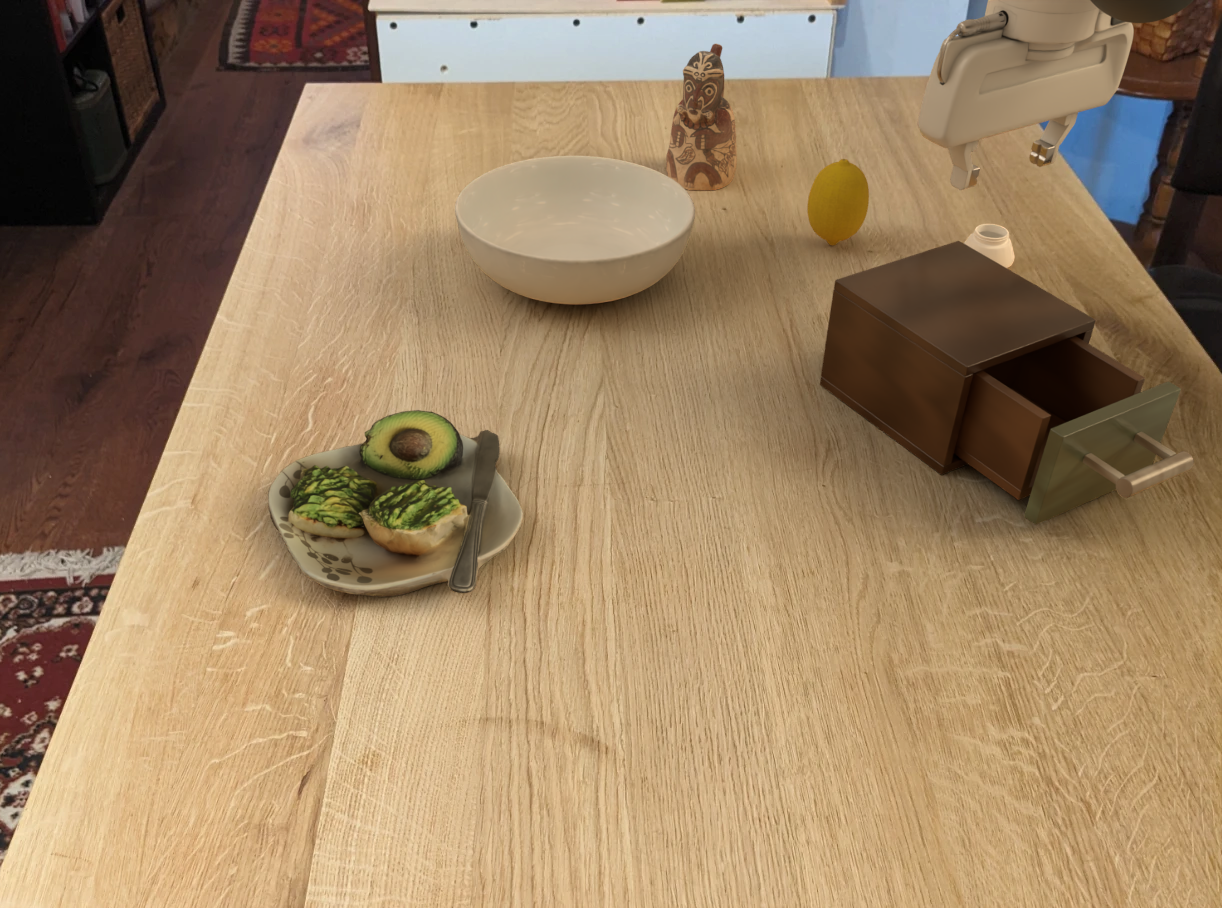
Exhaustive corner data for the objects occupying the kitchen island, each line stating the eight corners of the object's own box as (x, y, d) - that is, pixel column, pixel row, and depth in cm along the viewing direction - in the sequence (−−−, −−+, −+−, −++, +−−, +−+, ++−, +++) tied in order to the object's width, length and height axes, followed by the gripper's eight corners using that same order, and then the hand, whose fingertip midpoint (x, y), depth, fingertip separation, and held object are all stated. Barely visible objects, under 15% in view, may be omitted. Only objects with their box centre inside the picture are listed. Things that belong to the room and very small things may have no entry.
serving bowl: (652, 353, 107) (655, 276, 102) (423, 312, 111) (415, 236, 106) (717, 244, 120) (722, 171, 115) (510, 212, 125) (507, 140, 120)
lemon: (845, 227, 123) (858, 143, 117) (871, 253, 119) (886, 168, 114) (793, 236, 122) (803, 151, 116) (817, 262, 118) (829, 176, 112)
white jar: (1023, 262, 118) (978, 244, 121) (1031, 232, 116) (985, 213, 119) (991, 280, 116) (946, 260, 118) (998, 249, 114) (952, 230, 116)
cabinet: (1063, 426, 100) (1096, 319, 93) (941, 475, 95) (967, 366, 88) (936, 343, 108) (958, 240, 102) (819, 384, 104) (834, 279, 97)
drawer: (1197, 507, 91) (1235, 419, 86) (1083, 560, 87) (1115, 471, 82) (1017, 390, 101) (1040, 305, 96) (907, 432, 97) (925, 345, 92)
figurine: (652, 179, 130) (656, 53, 122) (689, 155, 134) (695, 32, 126) (712, 196, 128) (721, 69, 119) (747, 172, 132) (758, 47, 123)
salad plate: (580, 580, 87) (580, 525, 83) (323, 651, 82) (312, 596, 78) (483, 431, 99) (479, 378, 95) (255, 485, 94) (242, 432, 91)
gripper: (975, 37, 97) (937, 215, 107) (1161, -6, 104) (1109, 163, 114) (919, 12, 100) (888, 186, 110) (1103, -28, 108) (1058, 138, 118)
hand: (1002, 174), depth 112 cm, fingers open, 8 cm apart
